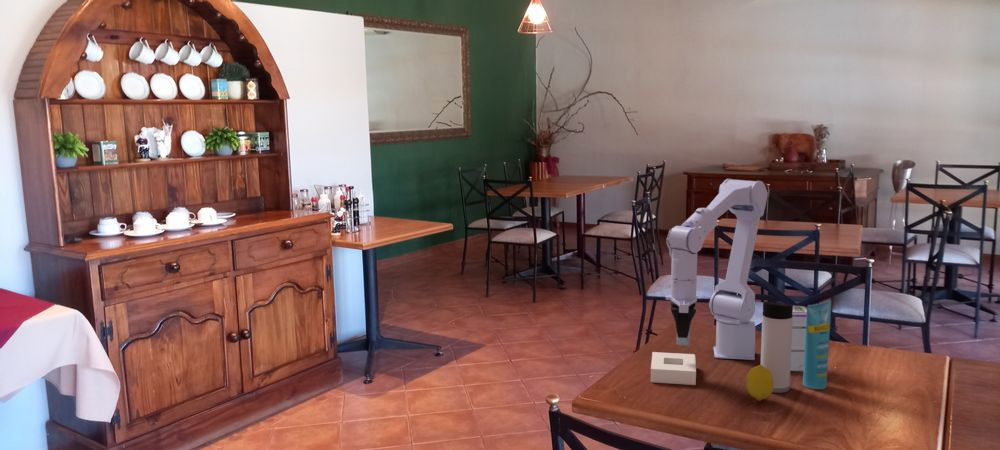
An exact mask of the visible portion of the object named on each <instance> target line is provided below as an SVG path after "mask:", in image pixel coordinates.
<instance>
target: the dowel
mask: <svg viewBox="0 0 1000 450" xmlns="http://www.w3.org/2000/svg"><path fill="white" fill-rule="evenodd" d="M675 335H676V340H675V341H676V342H675V344H676V345H678V346H682V347H683V346H690V342H691V341H690V339H691V338H690V336H691V328H690V329H689V333H688V337H687V338H679V337H678V335H677V334H675Z"/></svg>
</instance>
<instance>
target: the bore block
mask: <svg viewBox="0 0 1000 450" xmlns="http://www.w3.org/2000/svg"><path fill="white" fill-rule="evenodd" d="M651 354H652V355H651V362H650V363H651V364H650V383H655V384H656V383H659V384H672V385H673V384H675V385H687V386H688V385H691V386H696V385H697V383H696V381H697V380H696V378H697V365H696V355H695V353H694V354H693V353H677V352H675V353H673V352H656V351H652V353H651Z"/></svg>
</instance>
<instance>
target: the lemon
mask: <svg viewBox="0 0 1000 450" xmlns="http://www.w3.org/2000/svg"><path fill="white" fill-rule="evenodd" d="M745 379H746V380H745V381H746V382H745V385H746V389H747V392H748V393H749V395H750V396H751V397H753V398H754V399H756V400H757V401H758V402H761V401H762V400H763V399H764V400H765V399H766V398H769V397H770V395H771V394H773V392H772V391H773V387H774V381H773V376H772V373H771V372H770V371H769V370H768V369H767V368H766V367H763V366H762V365H761V364H758V365H756V366H753V367H752V368H751V369H750V370H748V373H747V375H746V378H745Z"/></svg>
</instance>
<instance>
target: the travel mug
mask: <svg viewBox="0 0 1000 450" xmlns="http://www.w3.org/2000/svg"><path fill="white" fill-rule="evenodd" d="M793 306H794V304H792V303H789V302H776V301H764V302H762V315H761V316H762V318H761V338H760V339H761V341H760V343H761V345H760V346H761V347H760V365H762V366H763V367H766V368H767V369H768V370H769V371H770V372H771V373H772V376H773V381H774V387H773V391H772V394H773V393H774V394H783V392H784V393H787V392H789V391H790V387H791V383H790V382H791V371H790V367H791V344H792V321H793V320H792V319H793V316H792V312H793Z"/></svg>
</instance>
